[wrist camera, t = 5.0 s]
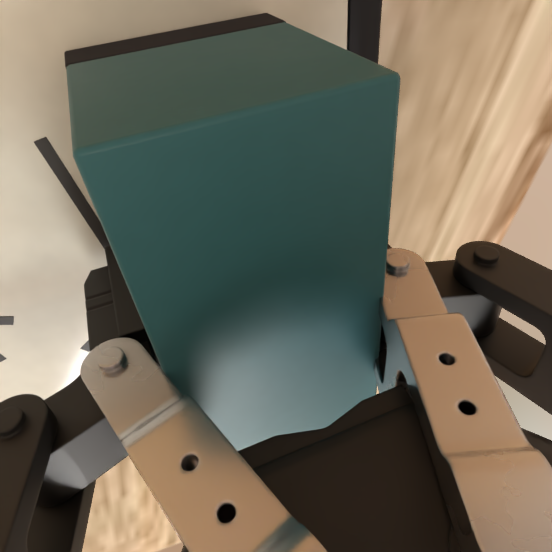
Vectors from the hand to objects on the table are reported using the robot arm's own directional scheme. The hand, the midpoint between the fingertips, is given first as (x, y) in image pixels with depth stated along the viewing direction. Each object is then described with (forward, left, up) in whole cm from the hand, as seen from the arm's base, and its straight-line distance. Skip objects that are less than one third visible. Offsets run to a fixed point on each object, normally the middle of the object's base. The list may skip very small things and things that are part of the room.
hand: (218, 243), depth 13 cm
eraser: (0, 0, -1) cm, 1 cm away
